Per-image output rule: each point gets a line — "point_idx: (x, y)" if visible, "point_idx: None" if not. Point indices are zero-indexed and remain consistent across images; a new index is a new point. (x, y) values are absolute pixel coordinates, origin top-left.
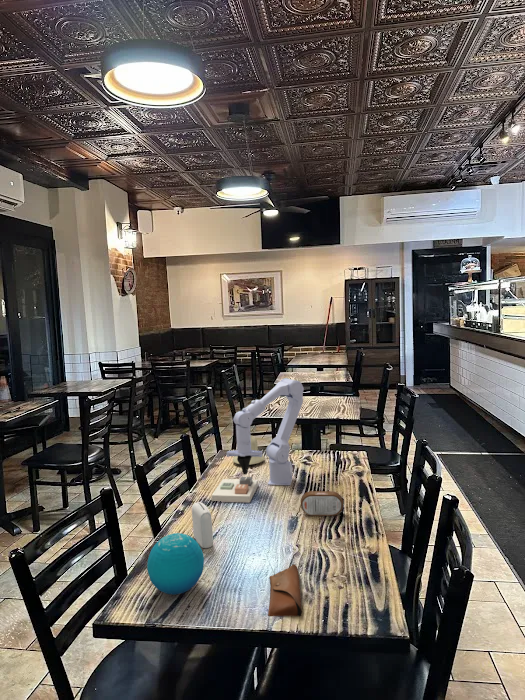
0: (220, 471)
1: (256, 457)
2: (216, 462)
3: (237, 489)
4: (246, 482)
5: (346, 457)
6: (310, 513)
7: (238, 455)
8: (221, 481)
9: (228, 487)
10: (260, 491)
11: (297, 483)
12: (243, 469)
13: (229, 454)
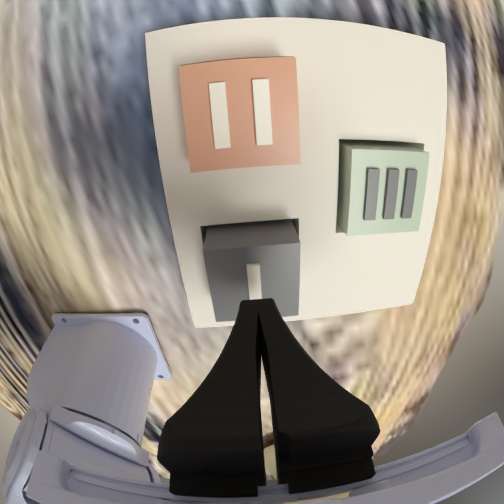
0: (404, 384)
1: None
2: (408, 419)
3: (266, 58)
4: (235, 240)
5: None
6: None
7: (363, 481)
8: (420, 272)
9: (369, 148)
10: (149, 228)
11: (45, 332)
12: (271, 329)
13: (480, 448)
